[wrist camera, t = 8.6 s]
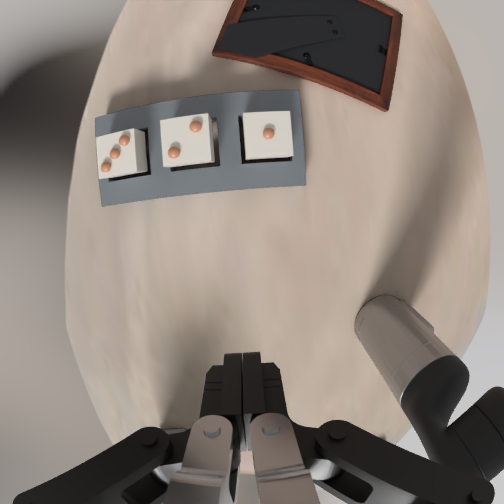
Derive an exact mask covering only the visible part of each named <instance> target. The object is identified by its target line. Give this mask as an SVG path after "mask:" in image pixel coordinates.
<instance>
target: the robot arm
mask: <svg viewBox="0 0 504 504" xmlns="http://www.w3.org/2000/svg"><path fill="white" fill-rule="evenodd" d="M433 332H434V327H433V326H432V325H431V324H430V323H429V322H428V321H427V320H426V319H425V318H424V317H422V316H421V315H420V314H419V313H418V312H417V311H416V310H415V309H414V308H413V307H411V306H410V305H409V304H408V303H407V302H406V301H405V300H398V299H397V298H395V297H393V296H390V295H383V296H379V297H376V298H374V299H372V300H370V301H369V302H368V303H367V304H365V306H364V307H363V308H362V309H361V310H360V312H359V313H358V315H357V318H356V321H355V333H356V335H357V337H358V339H359V341H360V342H361V343H362V345H363V346H364V348H365V350H366V351H367V353H368V354H369V356H370V358H371V359H372V361H373V362H374V364H375V366H376V367H377V369H378V370H379V372H380V374H381V375H382V377H383V378H384V380H385V382H386V383H387V385H388V386H389V388H390V390H391V391H392V393H393V395H394V396H395V398H396V399H397V401H398V403H399V404H400V406H401V408H402V409H403V411H404V413H405V414H406V416H407V417H408V419H409V421H410V422H411V424H412V426H413V427H414V429H415V431H416V433H417V434H418V436H419V438H420V440H421V442H422V444H423V446H424V448H425V450H426V453H427V455H428V457H429V459H430V460H429V459H426V458H424V457H421V456H419V455H416V454H414V453H412V452H409V451H407V450H405V449H402V448H400V447H398V446H396V445H394V444H392V443H389V442H387V441H385V440H383V439H381V438H379V437H377V436H375V435H373V434H371V433H369V432H367V431H365V430H363V429H361V428H359V427H357V426H355V425H353V424H351V423H349V422H347V421H343V420H332V421H329V422H326V423H324V424H323V425H321V426H320V427H319V428H312V427H304V426H301V425H298V424H296V423H295V422H293V421H292V420H291V419H290V418H289V416H288V413H287V407H286V402H285V396H284V391H283V385H282V380H281V374H280V369H279V368H278V367H277V366H276V365H275V364H274V363H273V362H272V363H261V357H260V352H249V353H243V360H242V353H231V354H224V363H223V365H217V366H212V367H211V368H210V370H209V371H208V372H207V374H206V380H205V386H204V393H203V399H202V406H201V412H200V418H199V419H198V420H197V421H196V422H195V423H194V424H193V426H192V428H191V429H189V430H187V431H184V432H180V433H175V434H169V435H168V434H167V433H166V432H165V431H164V430H162V429H160V428H157V427H145V428H142V429H139V430H138V431H136V432H134V433H133V434H131V435H130V436H128V437H126V438H125V439H123V440H122V441H120V442H118V443H117V444H115V445H113V446H112V447H110V448H108V449H107V450H105V451H103V452H101V453H100V454H98V455H96V456H95V457H93V458H91V459H89V460H87V461H86V462H84V463H82V464H80V465H79V466H76V467H75V468H73V469H71V470H69V471H67V472H65V473H63V474H61V475H59V476H57V477H55V478H53V479H51V480H49V481H47V482H45V483H43V484H41V485H38V486H36V487H34V488H32V489H30V490H27V491H25V492H23V493H21V494H19V495H17V496H16V498H15V499H14V501H13V504H161V503H162V502H163V504H236V503H237V493H238V482H239V473H240V451H246V438H247V445H248V451H250V450H252V453H253V461H254V469H255V476H256V482H257V488H258V495H259V501H260V504H320V501H319V498H318V495H317V492H316V489H315V485H314V483H315V484H317V485H318V486H320V487H321V488H323V489H324V490H326V491H327V492H329V493H331V494H332V495H334V496H336V497H337V498H339V499H341V500H342V501H344V502H346V503H348V504H491V503H492V501H493V499H494V494H495V492H494V487H493V485H492V484H491V483H490V482H489V481H490V480H492V479H493V478H494V477H495V476H496V475H497V474H499V473H500V472H501V471H502V470H503V469H504V388H502V387H493V388H491V389H490V390H488V391H487V392H486V393H485V394H484V395H483V396H482V397H481V398H480V399H479V400H478V401H477V402H476V403H475V404H473V406H471V407H470V408H469V409H468V410H467V411H466V412H464V413H463V414H462V415H461V416H460V417H459V418H458V419H456V420H455V421H454V422H453V423H452V424H451V425H449V426H448V427H447V425H448V422H449V419H450V417H451V415H452V413H453V411H454V409H455V408H456V406H457V404H458V403H459V401H460V400H461V398H462V396H463V394H464V393H465V391H466V388H467V386H468V382H469V371H468V369H467V367H466V366H465V364H464V363H463V362H462V361H461V360H460V359H459V358H458V357H457V356H456V355H455V354H454V353H453V352H452V351H451V350H450V349H449V348H448V347H447V346H446V345H445V344H444V343H443V342H442V341H441V340H440V339H439V338H438V337H437V336H436V335H435V334H434V333H433Z"/></svg>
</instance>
